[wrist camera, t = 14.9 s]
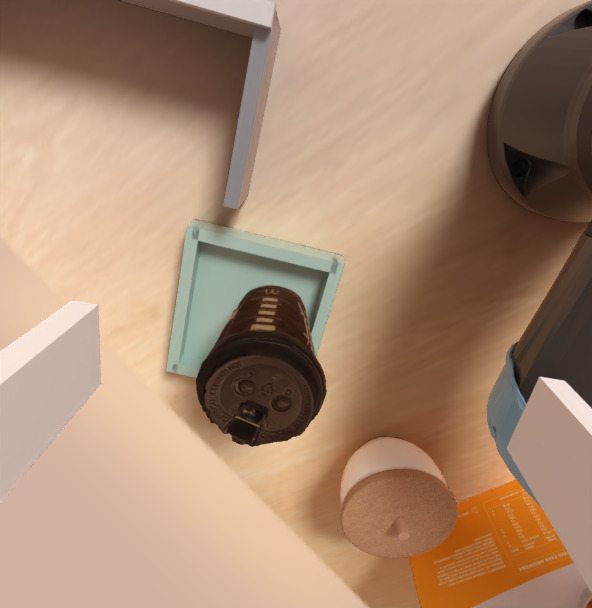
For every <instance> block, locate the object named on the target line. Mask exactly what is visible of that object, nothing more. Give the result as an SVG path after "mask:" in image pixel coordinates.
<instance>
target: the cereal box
mask: <svg viewBox="0 0 592 608" xmlns="http://www.w3.org/2000/svg"><path fill="white" fill-rule="evenodd" d="M456 505H457V511H458V516H457V521H456V524H455V527H454V529H453V530H452V532H451V534H450V535H449V536H448V537H447V538H446V539H445V540H444V541H443V542H442V543H441V544H440V545H438V546H436V547H435V548H433V549H431V550H429V551H427V552H425V553H422V554H419V555H415V556H411V557H409V560H410V564H411V568H412V572H413V577H414V581H415V585H416V589H417V593H418V597H419V601H420V605H421V608H592V593H591V591H590V589H589V587H588V586H587V584H586V582H585V581H584V579H583V577H582V576H581V574H580V572H579V570H578V569H577V567H576V565H575V564H574V562H573V560H572V559H571V557H570V555H569V554H568V552H567V550H566V548H565V547H564V545H563V543H562V542H561V540H560V538H559V537H558V535H557V533H556V531H555V530H554V528H553V526H552V525H551V523H550V521H549V520H548V518H547V516H546V515H545V513H544V511H543V509H542V508H541V507H540V506H539V505H538V504H537V503H536V502H535V501H534V500H533V499H532V497H531V496H530V495H529V494H528V493H527V492H526V491H525V489H524V488H523V487H522V486H521V485H520V483H519V482H518V481H517V479H516V480H514V481H511V482H509V483H506V484H504V485H501V486H499V487H496V488H494V489H491V490H489V491H486V492H484V493H481V494H479V495H476V496H474V497H471V498H469V499H466V500H464V501H461V502H459V503H456Z"/></svg>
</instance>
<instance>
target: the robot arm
mask: <svg viewBox="0 0 592 608" xmlns="http://www.w3.org/2000/svg"><path fill="white" fill-rule="evenodd" d="M487 148H488V155H489V160H490V163H491V167H492V170H493V172H494V175H495V177H496V179H497V180H498V182H499V184H500V185H501V187H502V188H503V189H504V191H505V192H506V193H507V194H508V195H509V196H510V197H511V198H512V199H513V200H514V201H515V202H517V203H518V204H519V205H521V206H523V207H524V208H526V209H528V210H530V211H533V212H535V213H538V214H540V215H543V216H545V217H548V218H552V219H555V220H560V221H567V222H590V223H589V225H588V227H587V228H586V230H585V231H584V233H582V235H581V237H580V239H579V240H578V242H577V244H576V246H575V247H574V249H573V251H572V252H571V254H570V256H569V258H568V259H567V261H566V263H565V265H564V266H563V268H562V270H561V271H560V273H559V275H558V277H557V278H556V280H555V282H554V284H553V285H552V287H551V289H550V290H549V292H548V294H547V296H546V297H545V299H544V301H543V302H542V304H541V305H540V307H539V309H538V310H537V312H536V314H535V315H534V317H533V319H532V320H531V322H530V324H529V325H528V327H527V329H526V330H525V332H524V334H523V335H522V337H521V338H520V340H519V342H517V343H515V344H513V345H512V346H511V347H510V349H509V350H508V352H507V356H506V364H505V366H504V368H503V370H502V372H501V374H500V375H499V377H498V379H497V381H496V383H495V385H494V387H493V389H492V391H491V393H490V396H489V399H488V403H487V421H488V425H489V429H490V432H491V435H492V437H493V438H494V440H495V441H496V446H497V450H498V452H499V453H500V455H501V457H502V459H503V460H504V462H505V464H506V465H507V467H508V468H509V470H510V471H511V473H512V474H513V475H514V477H515V478H516V479H517V481H518V482H519V483H520V485H521V486H522V487H523V488H524V489H525V491H526V492H527V493H528V494H529V495H530V496H531V497H532V499H533V500H534V501H535V502H536V503H537V504H538V505H539V506H540V507H541V508H542V509H543V511H544V513H545V515H546V516H547V518H548V520H549V521H550V523H551V525H552V526H553V528H554V530H555V531H556V533H557V535H558V537H559V538H560V540H561V542H562V543H563V545H564V547H565V548H566V550H567V552H568V554H569V555H570V557H571V559H572V560H573V562H574V564H575V565H576V567H577V569H578V570H579V572H580V574H581V576H582V577H583V579H584V581H585V582H586V584H587V586H588V587H589V589H590V591H591V593H592V0H591V1H589V2H586V3H584V4H582V5H579V6H577V7H575V8H573V9H570V10H569V11H567V12H565V13H563V14H561V15H560V16H558V17H556V18H555V19H553V20H552V21H551V22H549V23H548V24H546V25H545V26H544V27H543V28H541V29H540V30H539V31H538V32H537V33H536V34H535V35H534V36H533V37H532V38H531V39H530V40H529V41H528V42H527V43H526V44H525V45H524V46H523V47H522V48H521V50H520V51H519V52H518V53H517V55H516V56H515V57H514V59H513V60H512V62H511V63H510V65H509V66H508V68H507V70H506V71H505V73H504V75H503V77H502V79H501V81H500V83H499V85H498V88H497V90H496V92H495V95H494V98H493V101H492V105H491V108H490V113H489V118H488V125H487ZM100 368H101V367H100V336H99V305H97V304H91V303H85V302H79V301H73V300H72V301H71V302H69V303H68V304H66V305H65V306H64V307H62V308H61V309H59V310H58V311H57V312H55V313H54V314H52V315H51V316H50V317H48V318H47V319H45V320H44V321H42V322H41V323H40V324H38V325H37V326H36V327H34V328H33V329H31V330H30V331H29V332H27V333H25V334H24V335H23V336H21V337H20V338H19V339H17V340H16V341H14V342H13V343H11V344H10V345H9V346H7V347H6V348H5V349H3V350H2V351H0V503H1V502H2V501H3V500H4V498H5V497H6V496H7V495H8V494H9V492H10V491H11V490H12V489H13V488H14V486H15V485H16V484H17V483H18V482H19V480H20V479H21V478H22V477H23V476H24V475H25V473H26V472H27V471H28V470H29V469H30V467H31V466H32V465H33V464H34V463H35V461H36V460H37V459H38V458H39V457H40V456H41V454H42V453H43V452H44V451H45V450H46V448H47V447H48V446H49V445H50V444H51V443H52V441H53V440H54V439H55V438H56V437H57V435H58V434H59V433H60V432H61V431H62V429H63V428H64V427H65V426H66V425H67V424H68V422H69V421H70V420H71V419H72V417H73V416H74V415H75V414H76V413H77V412H78V410H79V409H80V408H81V407H82V406H83V404H84V403H85V402H86V401H87V400H88V399H89V397H90V396H91V395H92V394H93V393H94V391H95V390H96V389H97V388H98V387H99V385H100V384H101V369H100Z"/></svg>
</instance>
